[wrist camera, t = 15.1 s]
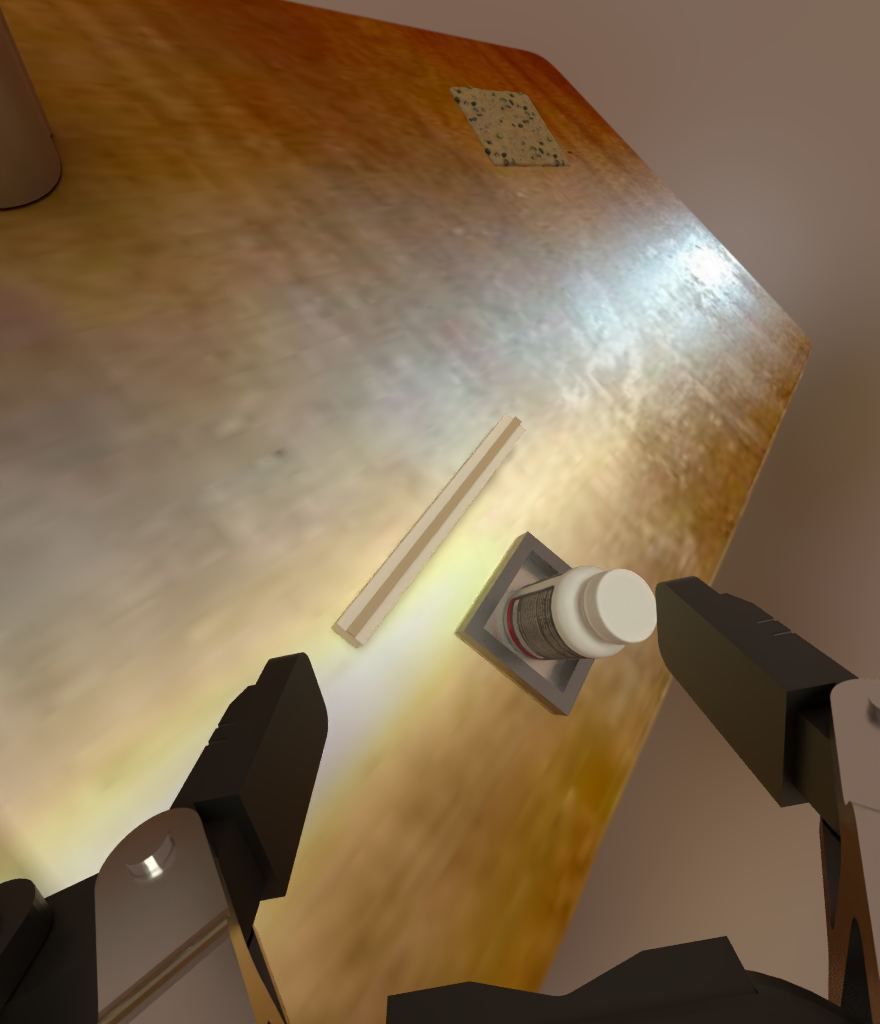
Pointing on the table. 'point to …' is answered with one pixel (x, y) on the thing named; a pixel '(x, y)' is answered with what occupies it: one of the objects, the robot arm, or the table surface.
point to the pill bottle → (580, 614)
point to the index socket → (488, 637)
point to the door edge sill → (426, 535)
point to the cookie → (509, 128)
